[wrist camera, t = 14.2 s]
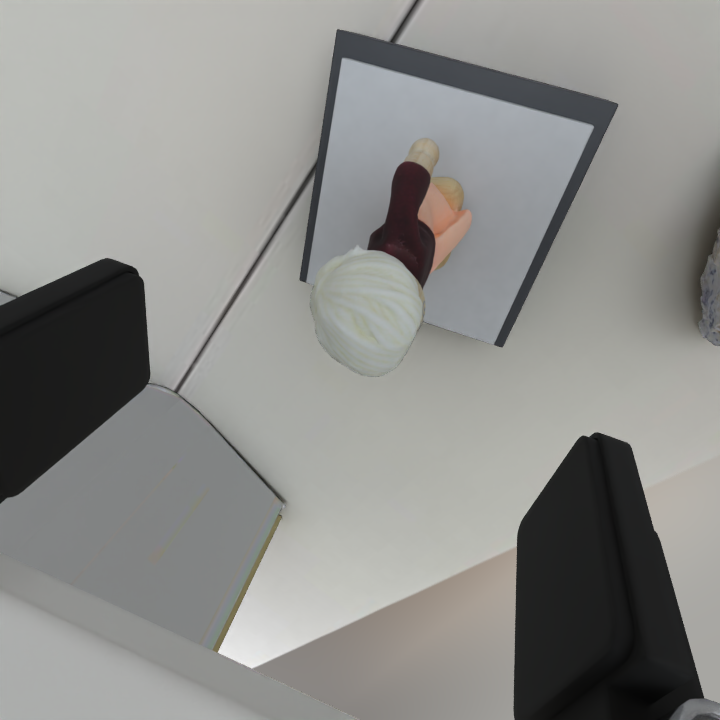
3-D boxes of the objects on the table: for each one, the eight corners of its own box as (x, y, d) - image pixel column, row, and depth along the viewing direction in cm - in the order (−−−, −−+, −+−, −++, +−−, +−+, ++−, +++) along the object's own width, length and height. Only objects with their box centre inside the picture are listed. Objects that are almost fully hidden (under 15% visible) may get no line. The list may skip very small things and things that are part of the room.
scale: (608, 100, 20) (622, 105, 18) (503, 327, 27) (502, 353, 25) (353, 32, 22) (331, 27, 19) (314, 265, 29) (294, 284, 26)
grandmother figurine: (465, 291, 23) (425, 466, 13) (391, 284, 24) (300, 443, 14) (483, 121, 19) (446, 182, 9) (393, 120, 20) (269, 176, 10)
